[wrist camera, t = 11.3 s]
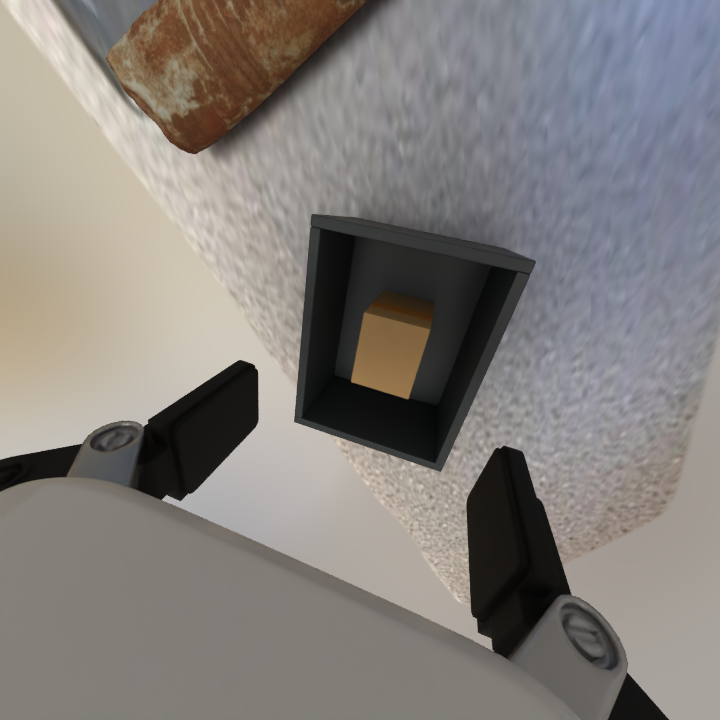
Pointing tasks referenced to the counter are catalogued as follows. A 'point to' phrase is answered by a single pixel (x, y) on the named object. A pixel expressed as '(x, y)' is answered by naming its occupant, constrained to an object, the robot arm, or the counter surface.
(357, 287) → the bin
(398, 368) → the carton
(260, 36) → the bread
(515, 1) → the counter surface
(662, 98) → the counter surface
